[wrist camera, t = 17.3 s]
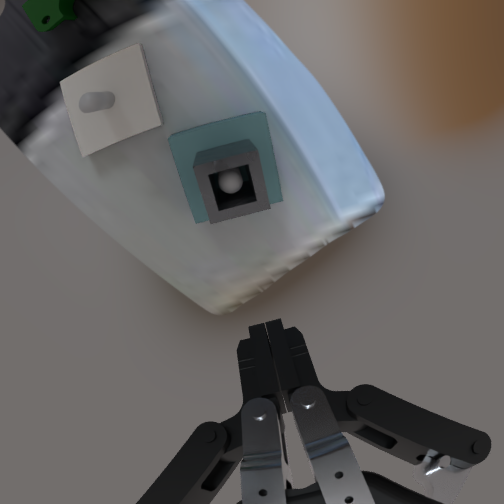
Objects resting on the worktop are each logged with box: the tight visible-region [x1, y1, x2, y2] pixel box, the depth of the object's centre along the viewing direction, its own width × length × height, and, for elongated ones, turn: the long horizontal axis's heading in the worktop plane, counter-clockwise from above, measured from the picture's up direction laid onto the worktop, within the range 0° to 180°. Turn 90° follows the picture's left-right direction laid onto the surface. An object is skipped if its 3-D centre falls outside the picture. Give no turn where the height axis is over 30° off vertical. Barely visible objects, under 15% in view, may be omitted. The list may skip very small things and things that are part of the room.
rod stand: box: [60, 43, 164, 157], centre depth 21 cm, size 10×10×6 cm
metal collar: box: [193, 139, 271, 224], centre depth 25 cm, size 5×5×6 cm
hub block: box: [168, 111, 283, 224], centre depth 27 cm, size 10×10×8 cm
